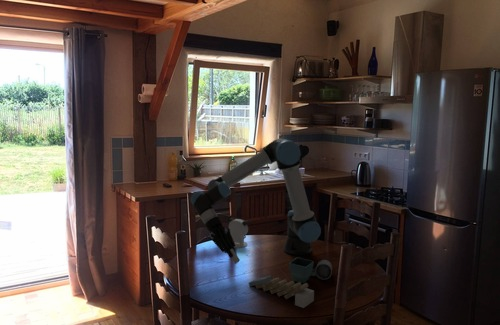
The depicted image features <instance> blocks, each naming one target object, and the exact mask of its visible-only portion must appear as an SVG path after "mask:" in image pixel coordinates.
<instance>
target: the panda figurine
mask: <svg viewBox="0 0 500 325" xmlns="http://www.w3.org/2000/svg"><path fill="white" fill-rule="evenodd" d="M249 224H250V223H249V220H247V219H246V220H244V219H241V218H235V217H231V218H229V219H228V228H229V229H230V233H231V236H232V238H233V241H234V243H235V247H234V249H242V248H246V247H248V243H247V242H246V241H245V239H246V238H247V236H246V235H247V233H248V232H249V226H248V225H249Z"/></svg>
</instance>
